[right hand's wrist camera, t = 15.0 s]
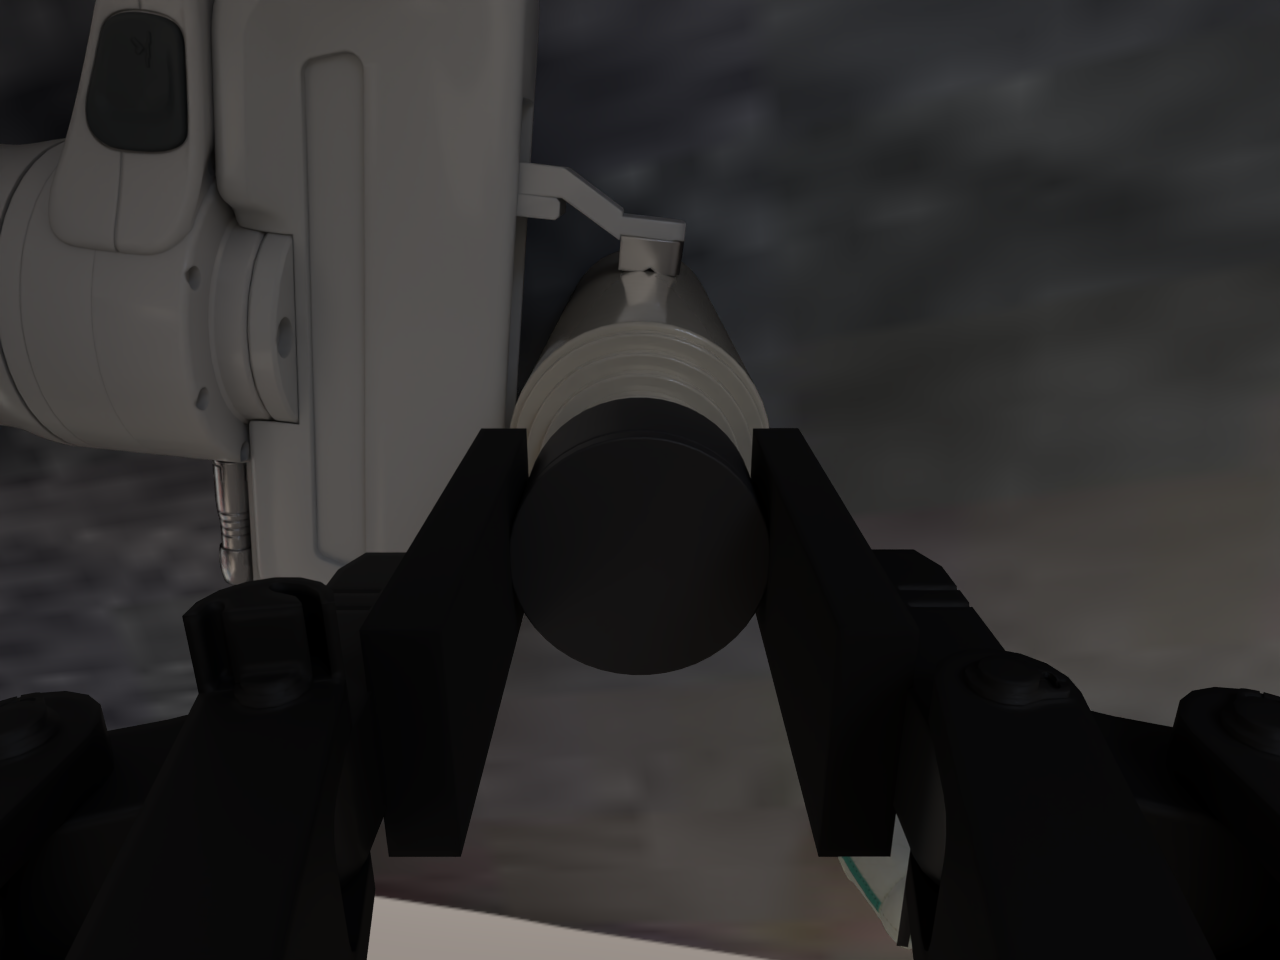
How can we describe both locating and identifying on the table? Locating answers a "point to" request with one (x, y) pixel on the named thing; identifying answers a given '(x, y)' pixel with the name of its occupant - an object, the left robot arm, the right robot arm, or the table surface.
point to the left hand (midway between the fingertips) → (669, 359)
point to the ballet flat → (883, 881)
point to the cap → (639, 539)
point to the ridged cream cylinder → (639, 356)
